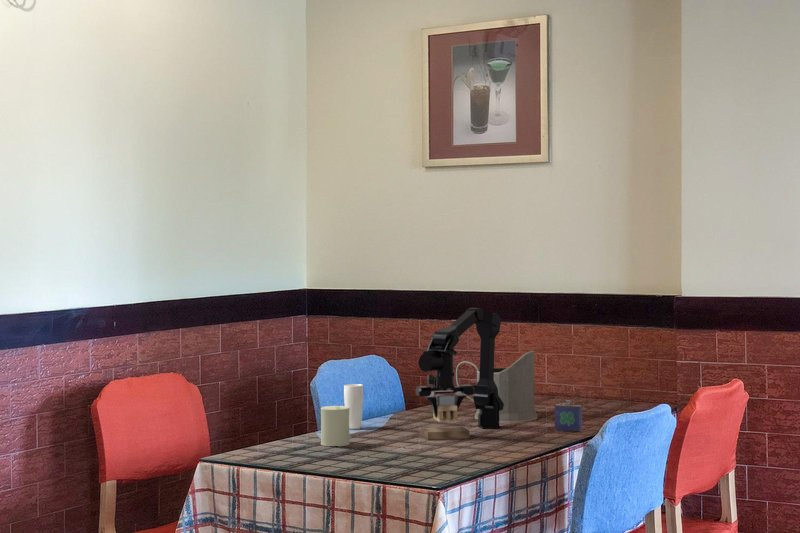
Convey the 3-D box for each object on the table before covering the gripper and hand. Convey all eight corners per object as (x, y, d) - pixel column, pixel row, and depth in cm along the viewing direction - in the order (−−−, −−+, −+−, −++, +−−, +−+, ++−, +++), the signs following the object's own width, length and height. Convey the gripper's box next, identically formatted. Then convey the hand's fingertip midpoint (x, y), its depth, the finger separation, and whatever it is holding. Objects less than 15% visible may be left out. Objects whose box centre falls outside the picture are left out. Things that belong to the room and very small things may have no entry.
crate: (450, 403, 328) (450, 394, 328) (454, 405, 323) (454, 396, 323) (435, 403, 327) (435, 394, 327) (439, 405, 322) (439, 396, 322)
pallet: (450, 417, 330) (450, 402, 330) (457, 421, 322) (457, 405, 322) (433, 418, 328) (433, 403, 328) (439, 422, 320) (439, 406, 320)
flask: (582, 431, 334) (582, 399, 334) (580, 433, 331) (580, 400, 331) (555, 430, 337) (555, 398, 337) (553, 431, 335) (553, 399, 335)
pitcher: (524, 423, 352) (523, 353, 352) (443, 418, 367) (443, 350, 367) (546, 415, 372) (545, 348, 372) (469, 410, 387) (468, 346, 387)
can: (327, 447, 307) (327, 408, 307) (316, 443, 315) (315, 405, 315) (354, 445, 311) (354, 406, 311) (342, 440, 319) (342, 403, 319)
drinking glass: (360, 430, 340) (360, 386, 340) (341, 429, 341) (341, 386, 341) (365, 427, 346) (365, 384, 346) (346, 426, 348) (346, 383, 348)
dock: (461, 433, 331) (461, 426, 331) (469, 438, 322) (469, 430, 322) (421, 435, 328) (421, 428, 328) (427, 440, 319) (427, 432, 319)
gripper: (465, 365, 335) (465, 412, 335) (411, 367, 331) (411, 414, 331) (474, 369, 324) (475, 416, 324) (419, 371, 320) (419, 419, 320)
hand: (445, 416), depth 325 cm, fingers closed on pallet, 6 cm apart
